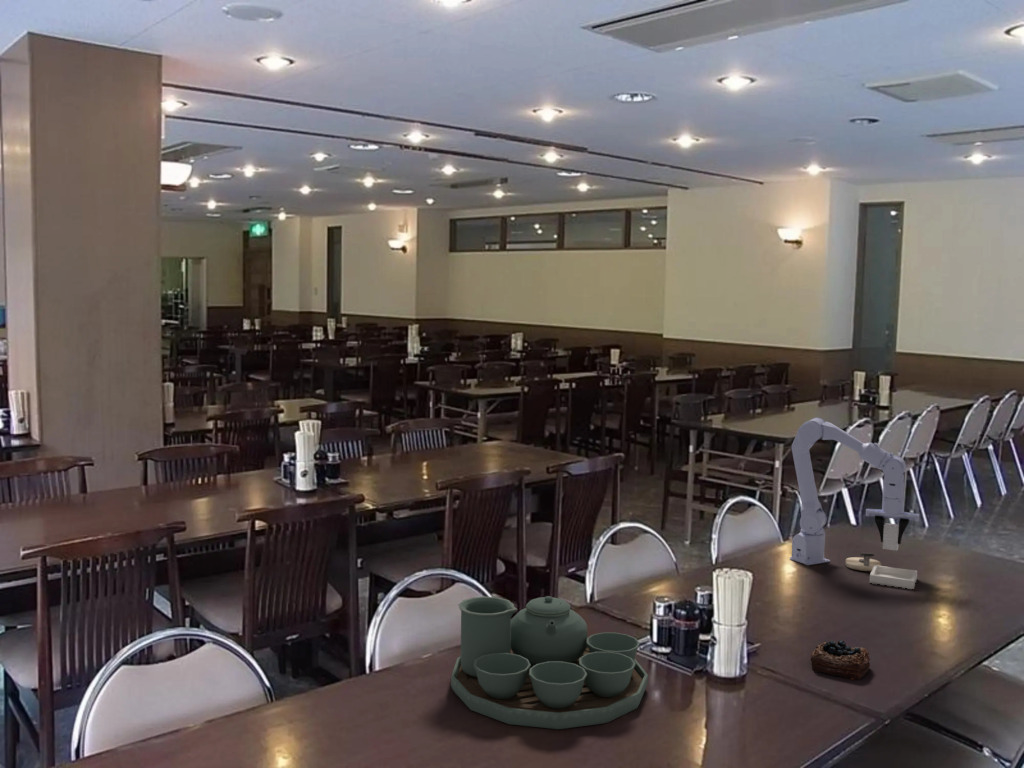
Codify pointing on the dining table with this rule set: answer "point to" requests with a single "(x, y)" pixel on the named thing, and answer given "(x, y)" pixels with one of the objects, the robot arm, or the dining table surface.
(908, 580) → the tray
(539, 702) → the tea set
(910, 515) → the robot arm
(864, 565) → the crank
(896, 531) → the block
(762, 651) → the dining table surface
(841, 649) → the pastry
